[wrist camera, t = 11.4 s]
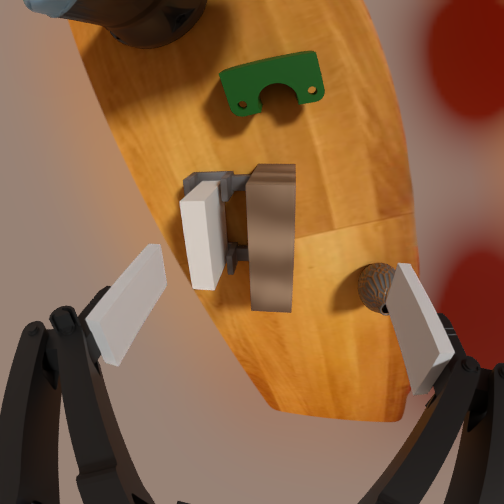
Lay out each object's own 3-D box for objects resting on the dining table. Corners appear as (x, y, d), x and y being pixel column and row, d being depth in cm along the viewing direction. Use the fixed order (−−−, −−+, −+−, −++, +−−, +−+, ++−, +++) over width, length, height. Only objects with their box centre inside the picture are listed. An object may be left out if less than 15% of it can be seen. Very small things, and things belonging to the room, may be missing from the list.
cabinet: (193, 165, 40) (161, 187, 30) (295, 164, 38) (295, 185, 28) (204, 263, 47) (181, 305, 38) (293, 267, 45) (291, 312, 36)
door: (198, 181, 40) (175, 201, 32) (222, 180, 40) (204, 201, 32) (207, 255, 46) (189, 288, 38) (228, 256, 45) (214, 290, 38)
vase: (383, 248, 42) (399, 279, 34) (401, 277, 44) (417, 311, 36) (347, 271, 45) (355, 306, 37) (367, 298, 46) (377, 334, 39)
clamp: (254, 99, 38) (221, 120, 33) (243, 62, 35) (206, 76, 29) (335, 91, 32) (316, 110, 27) (325, 48, 28) (303, 56, 23)
